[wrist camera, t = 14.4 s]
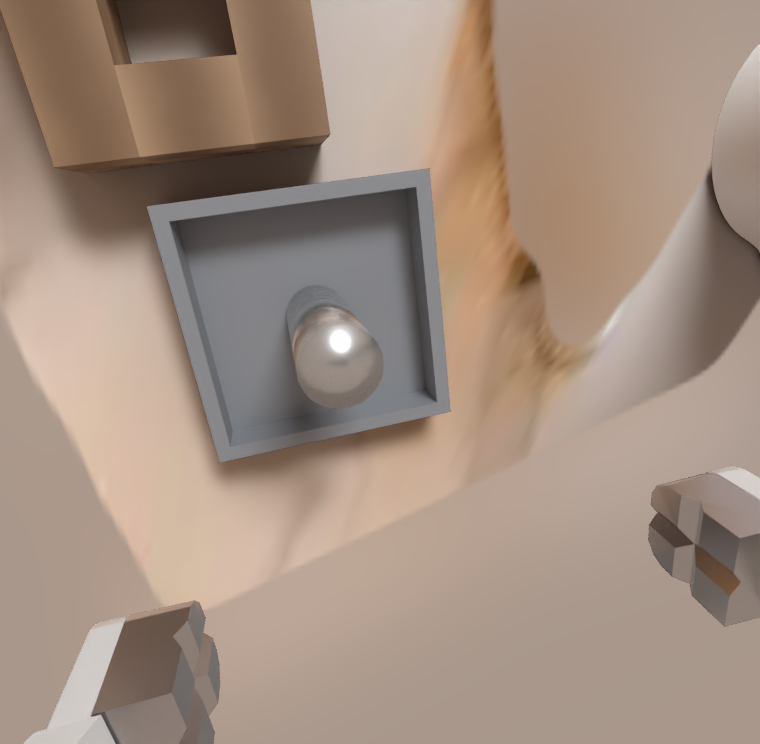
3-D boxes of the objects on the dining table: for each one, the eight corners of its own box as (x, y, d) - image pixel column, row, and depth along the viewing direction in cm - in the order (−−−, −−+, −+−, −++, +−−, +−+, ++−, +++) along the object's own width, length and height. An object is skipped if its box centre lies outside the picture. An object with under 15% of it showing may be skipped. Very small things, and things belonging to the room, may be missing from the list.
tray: (413, 171, 28) (429, 168, 25) (435, 394, 33) (450, 411, 30) (159, 206, 26) (146, 206, 23) (223, 439, 30) (219, 462, 28)
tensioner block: (276, -144, 22) (278, -213, 18) (321, 144, 26) (330, 134, 23) (-13, -136, 20) (-75, -213, 16) (86, 172, 24) (53, 167, 21)
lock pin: (341, 280, 28) (377, 317, 19) (350, 337, 29) (389, 398, 20) (281, 290, 28) (288, 333, 18) (292, 348, 29) (305, 416, 20)
